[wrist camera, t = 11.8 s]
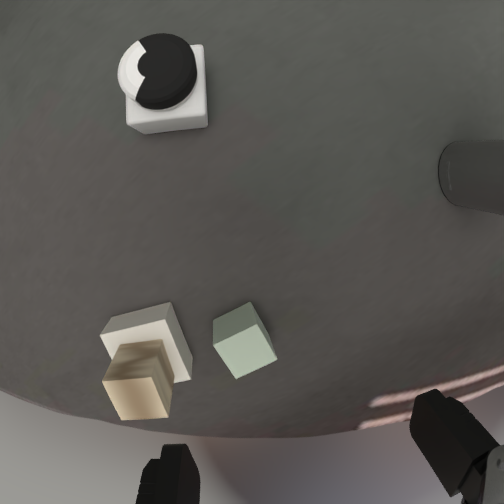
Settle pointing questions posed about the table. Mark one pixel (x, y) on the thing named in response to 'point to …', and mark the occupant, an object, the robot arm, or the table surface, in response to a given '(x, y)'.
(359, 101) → the table surface
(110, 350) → the cream base block
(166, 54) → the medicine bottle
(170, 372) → the maple block
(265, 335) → the sage block
